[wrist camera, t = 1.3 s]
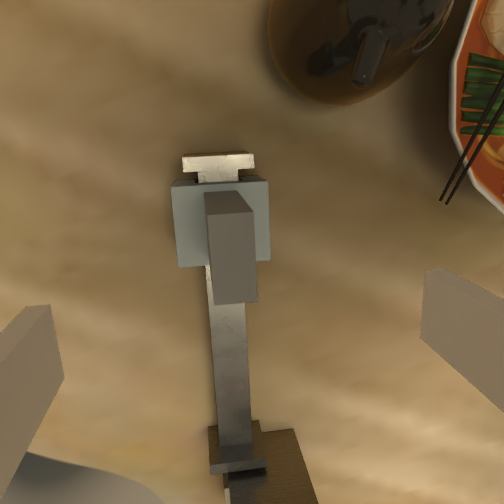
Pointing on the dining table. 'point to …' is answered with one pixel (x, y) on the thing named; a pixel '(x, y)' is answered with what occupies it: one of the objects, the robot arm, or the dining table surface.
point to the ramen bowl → (479, 101)
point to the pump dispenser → (350, 44)
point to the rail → (229, 347)
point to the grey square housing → (273, 475)
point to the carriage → (223, 233)
